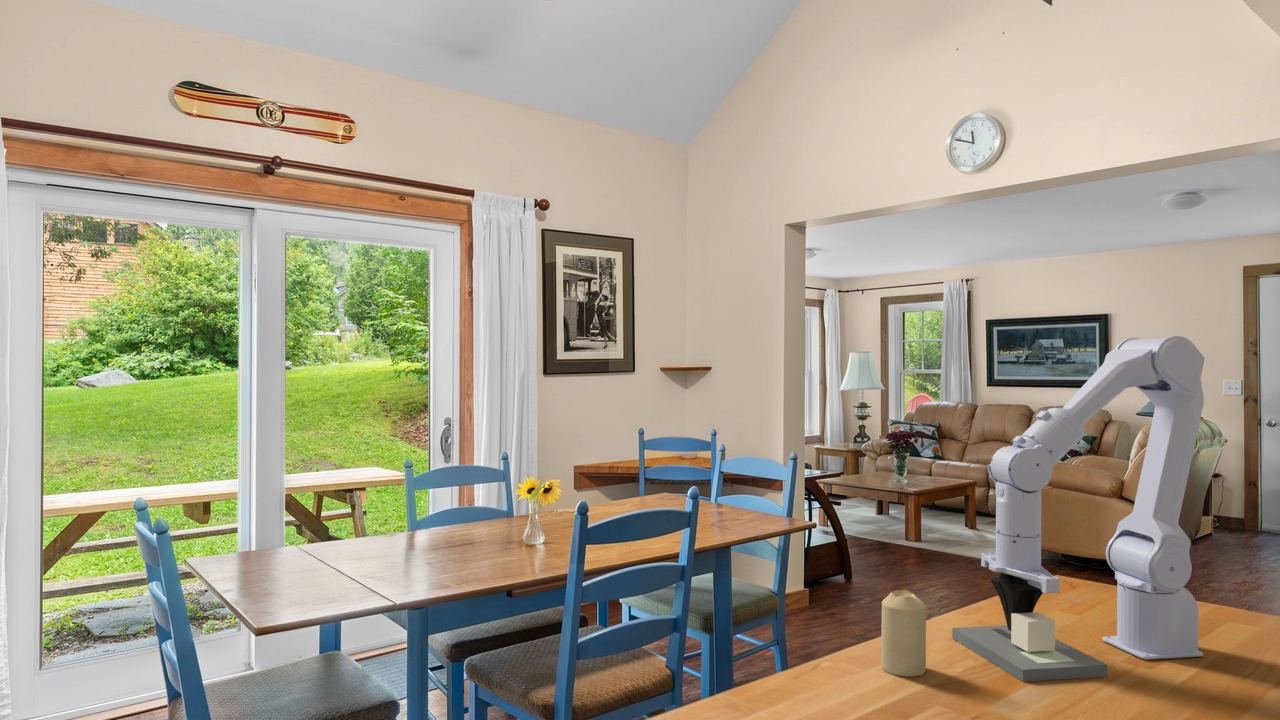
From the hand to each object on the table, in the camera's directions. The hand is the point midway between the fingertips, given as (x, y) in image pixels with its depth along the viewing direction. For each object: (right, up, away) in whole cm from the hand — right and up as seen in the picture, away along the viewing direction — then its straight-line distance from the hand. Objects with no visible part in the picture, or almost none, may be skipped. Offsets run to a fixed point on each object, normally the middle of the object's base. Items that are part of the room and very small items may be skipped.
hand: (1017, 631), depth 111 cm
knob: (0, -1, -3) cm, 3 cm away
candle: (-18, -3, -7) cm, 20 cm away
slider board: (0, -3, -2) cm, 3 cm away
